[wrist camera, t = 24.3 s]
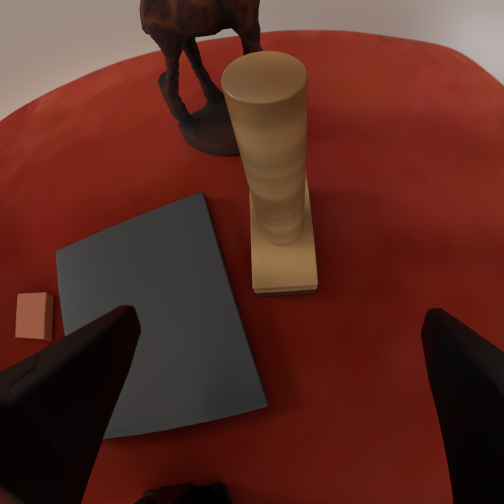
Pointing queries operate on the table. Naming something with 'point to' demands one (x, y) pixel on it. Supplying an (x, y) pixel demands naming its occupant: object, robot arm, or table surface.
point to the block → (35, 316)
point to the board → (166, 317)
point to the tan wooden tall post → (274, 168)
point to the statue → (199, 61)
